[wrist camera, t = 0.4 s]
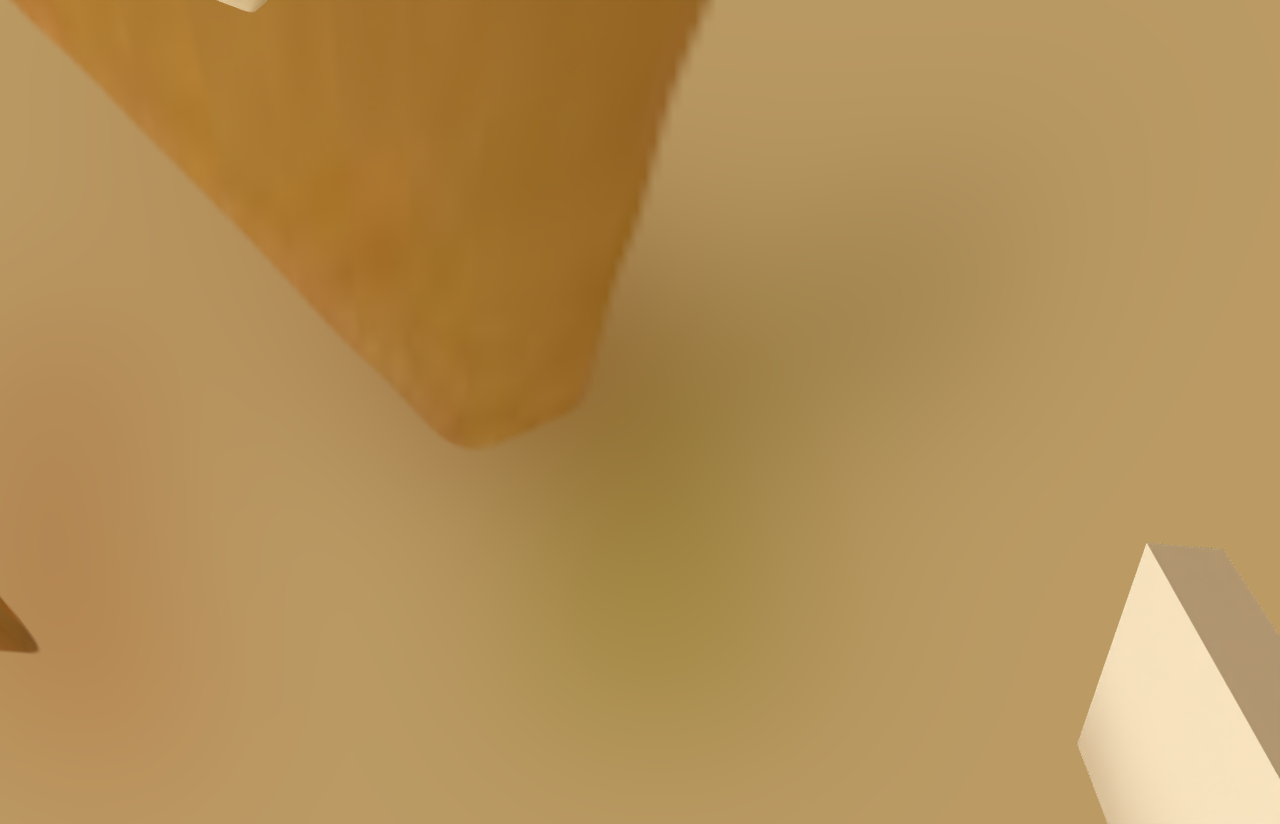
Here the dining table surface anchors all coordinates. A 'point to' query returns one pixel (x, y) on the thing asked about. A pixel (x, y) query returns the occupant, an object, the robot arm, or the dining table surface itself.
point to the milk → (245, 4)
